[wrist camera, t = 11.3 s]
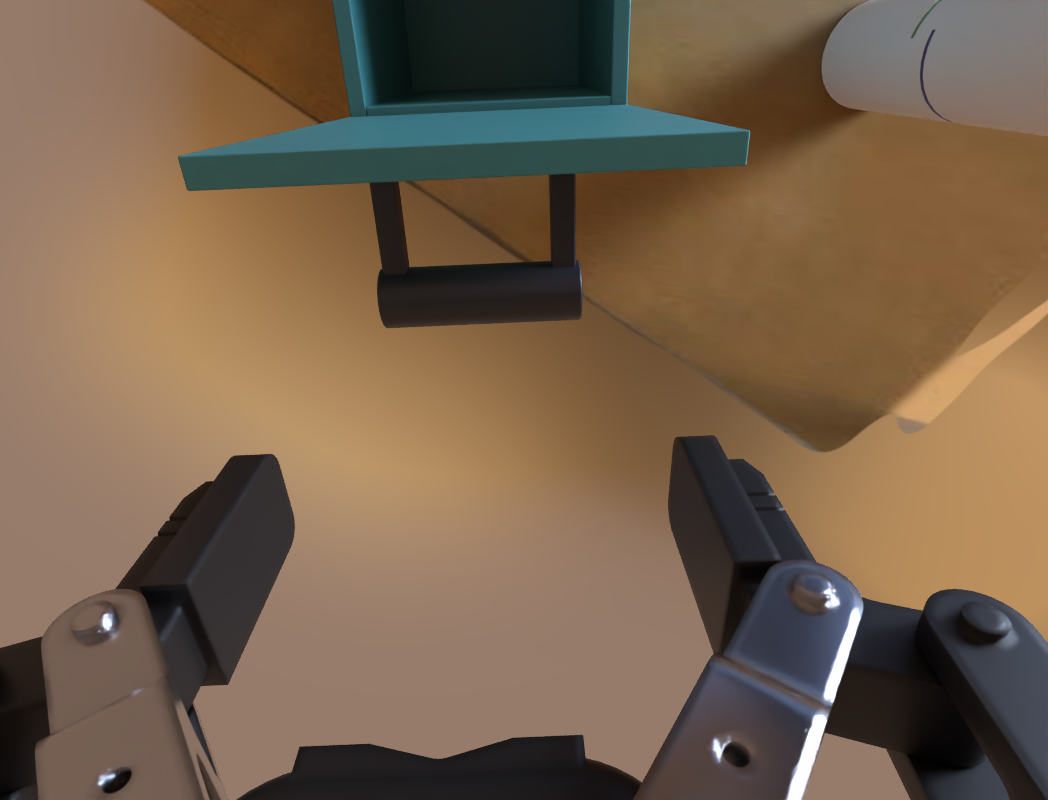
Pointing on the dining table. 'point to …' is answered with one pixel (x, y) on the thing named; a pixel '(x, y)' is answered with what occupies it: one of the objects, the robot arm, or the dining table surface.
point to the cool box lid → (472, 152)
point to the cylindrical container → (944, 61)
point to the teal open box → (482, 54)
